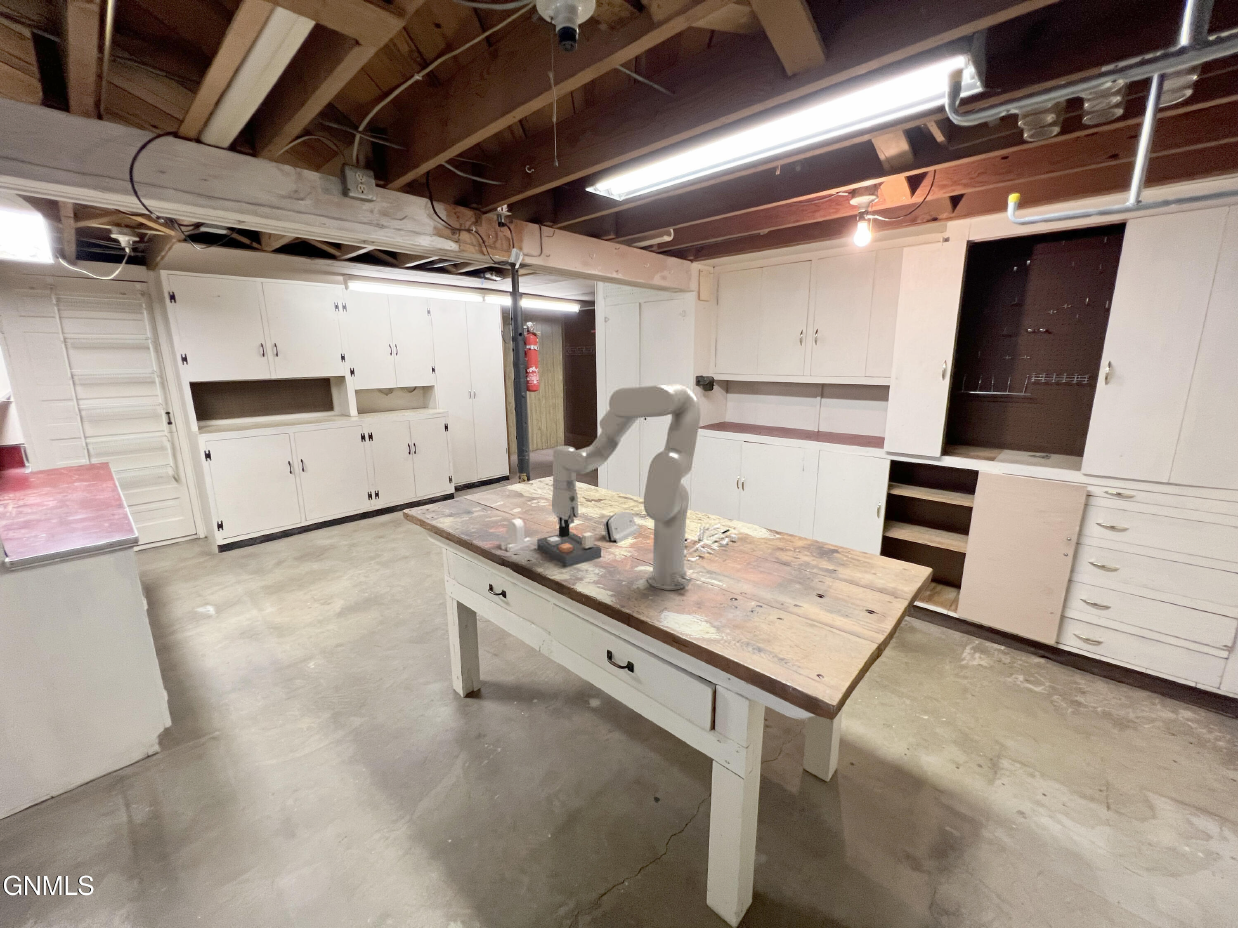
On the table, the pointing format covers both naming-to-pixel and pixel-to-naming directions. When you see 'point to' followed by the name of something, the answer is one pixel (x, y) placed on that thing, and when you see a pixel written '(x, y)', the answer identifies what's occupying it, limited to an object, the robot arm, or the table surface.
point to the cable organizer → (515, 536)
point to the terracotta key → (565, 548)
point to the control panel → (569, 557)
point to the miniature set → (722, 543)
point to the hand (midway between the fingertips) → (564, 535)
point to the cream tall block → (587, 540)
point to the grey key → (553, 540)
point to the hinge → (620, 526)
